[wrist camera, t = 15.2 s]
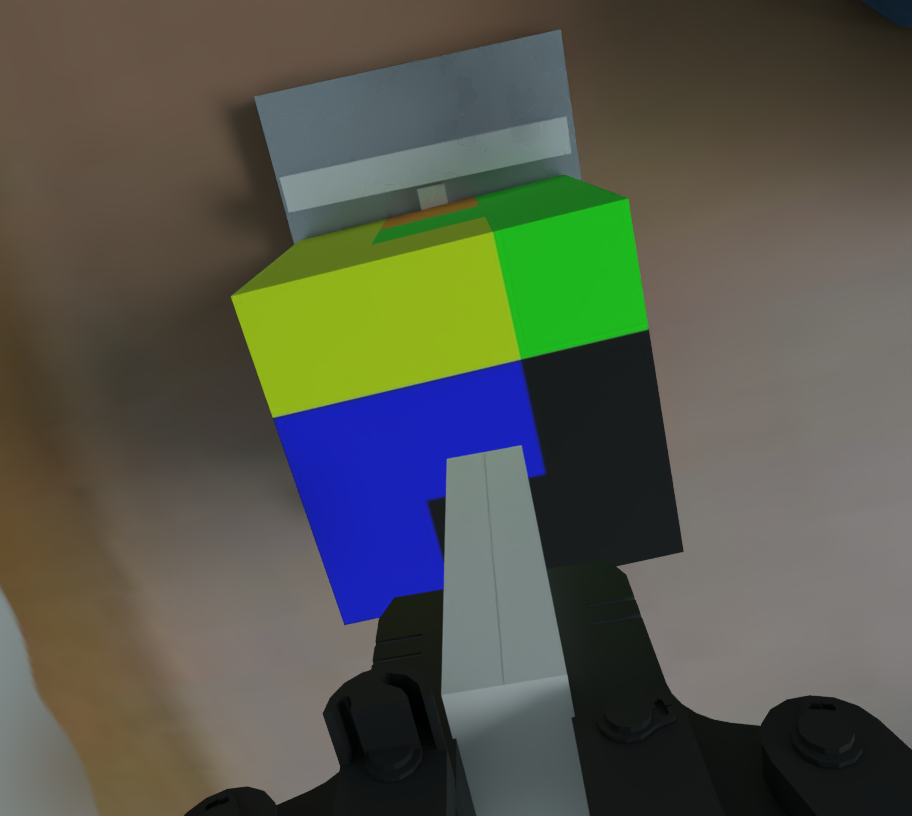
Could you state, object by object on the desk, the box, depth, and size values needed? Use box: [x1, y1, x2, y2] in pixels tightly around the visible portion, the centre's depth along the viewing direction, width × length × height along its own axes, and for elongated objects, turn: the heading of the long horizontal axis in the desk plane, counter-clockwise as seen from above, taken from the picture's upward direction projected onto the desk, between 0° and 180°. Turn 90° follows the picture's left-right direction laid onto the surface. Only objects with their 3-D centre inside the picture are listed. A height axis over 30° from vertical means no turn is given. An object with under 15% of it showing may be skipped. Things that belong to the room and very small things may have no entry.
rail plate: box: [254, 29, 582, 245], centre depth 30 cm, size 20×11×3 cm, turn 11°
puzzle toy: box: [231, 174, 684, 625], centre depth 25 cm, size 10×10×10 cm
